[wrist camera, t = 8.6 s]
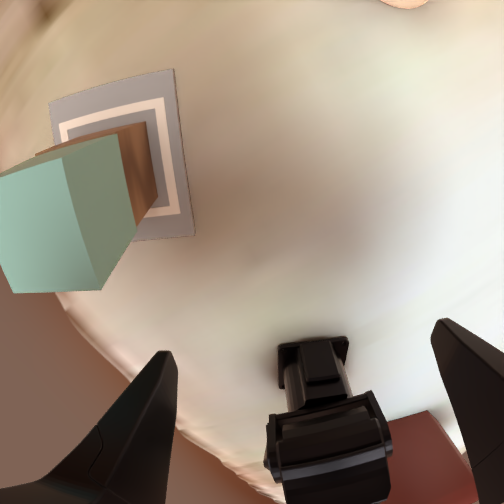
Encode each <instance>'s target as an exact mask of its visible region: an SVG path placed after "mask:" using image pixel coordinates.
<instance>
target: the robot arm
mask: <svg viewBox="0 0 504 504" xmlns="http://www.w3.org/2000/svg"><path fill="white" fill-rule="evenodd" d="M343 342H344V343H343ZM431 345H432V348H433V351H434V354H435V358H436V361H437V364H438V368H439V371H440V375H441V378H442V380H443V383H444V386H445V388H446V391H447V394H448V396H449V399H450V402H451V405H452V407H453V410H454V413H455V416H456V419H457V422H458V425H459V428H460V431H461V434H462V437H463V441H464V444H465V447H466V451H467V454H468V458H469V461H470V465H471V468H472V473H473V477H474V481H475V485H476V489H477V494H478V499H479V503H480V504H501V503H503V502H504V353H503V352H501V351H500V350H498V349H497V348H495V347H494V346H492V345H491V344H489V343H488V342H486V341H484V340H483V339H481V338H480V337H478V336H476V335H475V334H473V333H472V332H470V331H469V330H467V329H465V328H464V327H462V326H460V325H459V324H457V323H456V322H454V321H452V320H451V319H449V318H442V319H439V320H437V322H436V324H435V327H434V329H433V332H432V334H431ZM348 346H349V341H348V339H347V338H346V337H341V338H334V339H327V340H319V341H311V342H302V343H293V344H283V345H280V346H279V347H278V385H279V388H280V389H285V391H286V399H287V406H288V412H287V413H282V414H271V415H269V423H267V425H266V432H267V445H266V450H265V456H264V461H263V463H264V467H265V468H267V469H268V470H270V472H271V474H272V476H273V479H274V481H275V483H282V485H283V490H284V495H285V500H286V504H381V502H384V501H386V500H387V498H388V496H389V493H390V490H391V482H390V473H389V467H388V461H387V458H388V457H391V456H392V454H393V445H392V438H391V434H390V430H389V427H388V424H387V421H386V419H385V417H384V415H383V413H382V411H381V408H380V406H379V404H378V402H377V400H376V398H375V396H374V394H373V392H372V390H370V391H367V392H365V393H364V394H360V395H357V396H354V397H353V395H352V392H351V388H350V385H349V382H348V379H347V375H346V372H345V369H344V365H345V360H346V355H347V351H348ZM177 384H178V369H177V365H176V363H175V360H174V357H173V355H172V353H171V351H158V352H157V353H156V354H155V355H154V356H153V357H152V358H151V360H150V361H149V362H148V363H147V364H146V366H145V367H144V368H143V369H142V370H141V371H140V373H139V374H138V375H137V376H136V377H135V379H134V380H133V381H132V382H131V383H130V385H129V386H128V387H127V388H126V390H124V392H123V393H122V394H121V395H120V396H119V398H118V399H117V400H116V401H115V402H114V404H113V405H112V406H111V407H110V408H109V409H108V411H107V412H106V413H105V414H104V416H103V417H102V418H101V419H100V420H99V421H98V423H97V425H95V426H94V427H93V428H92V430H91V431H90V432H89V433H88V434H87V436H86V437H85V438H84V439H83V440H82V441H81V442H80V443H79V444H78V445H77V446H76V447H75V448H74V449H73V450H72V451H71V452H70V453H69V454H68V455H67V456H66V457H65V458H64V459H63V460H62V461H61V462H60V463H59V464H58V465H56V466H55V467H54V468H53V469H52V470H51V471H50V472H49V473H48V474H47V475H45V476H44V477H42V478H41V479H39V480H37V481H34V482H30V483H26V484H21V485H17V486H12V487H7V488H1V489H0V504H165V499H166V491H167V482H168V474H169V465H170V458H171V450H172V443H173V436H174V429H175V422H176V414H177Z"/></svg>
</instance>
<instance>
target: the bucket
mask: <svg viewBox="0 0 504 504" xmlns="http://www.w3.org/2000/svg"><path fill="white" fill-rule="evenodd" d="M387 424H388V427H389V430H390V434H391V438H392V445H393V454H392V456H391V457H388V458H387V461H388V467H389V473H390V482H391V490H390V493H389V496H388V498H387V500H386V501H384V502H381V504H472V503H474V502H476V501H478V500H479V499H478V494H477V489H476V485H475V481H474V477H473V473H472V470H471V468H470V467H469V465H468V464H467V462H466V461H465V459H464V458H463V456H462V455H461V453H460V452H459V450H458V449H457V447H456V446H455V445H454V443H453V442H452V440H451V439H450V437H449V436H448V435H447V433H446V432H445V430H444V429H443V428H442V426H441V425H440V423H439V422H438V420H437V419H436V418H435V417H433V416H432V415H431V414H430V413H429V412H428V411H427V410H426V411H423V412H420V413H417V414H413V415H410V416H407V417H403V418H400V419H396V420H392V421H389V422H387Z"/></svg>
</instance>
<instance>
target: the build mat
mask: <svg viewBox="0 0 504 504" xmlns="http://www.w3.org/2000/svg"><path fill="white" fill-rule="evenodd" d="M48 104H49V112H50V119H51V125H52V131H53V137H54V142H55V146H56V145H58V144H61V143H63V142H66V141H68V140H71V139H74V138H76V137H80V136H83V135H87V134H91V133H95V132H99V131H103V130H107V129H111V128H115V127H120V126H124V125H129V124H134V123H139V122H144V121H146V125H147V132H148V139H149V146H150V152H151V159H152V165H153V171H154V176H155V182H156V188H157V193H158V198H157V199H156V200H155V202H154V203H153V205H152V206H151V207H150V209H149V210H148V212H147V213H146V214H145V216H144V217H143V219H142V220H141V222H140V223H139V225H138V226H137V227H136V228H137V233H136V234H135V236H134V237H133V239H132V240H131V242H133V241H143V240H153V239H163V238H173V237H184V236H195V234H196V231H195V225H194V219H193V213H192V207H191V201H190V194H189V187H188V181H187V174H186V167H185V160H184V152H183V145H182V137H181V129H180V121H179V112H178V103H177V94H176V85H175V75H174V69H168V70H163V71H158V72H153V73H148V74H143V75H139V76H135V77H130V78H126V79H122V80H119V81H115V82H111V83H107V84H104V85H101V86H97V87H94V88H91V89H87V90H84V91H81V92H78V93H75V94H72V95H69V96H66V97H64V98H61V99H58V100H55V101H53V102H50V103H48Z"/></svg>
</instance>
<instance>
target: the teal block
mask: <svg viewBox="0 0 504 504" xmlns="http://www.w3.org/2000/svg"><path fill="white" fill-rule="evenodd" d="M136 233H137V228H136V224H135V219H134V215H133V211H132V207H131V202H130V198H129V193H128V189H127V184H126V179H125V174H124V169H123V164H122V158H121V153H120V147H119V141H118V135H117V134H113V135H108V136H104V137H100V138H96V139H92V140H88V141H85V142H81V143H77V144H74V145H70V146H67V147H63V148H60V149H57V150H53V151H50V152H47V153H44V154H41V155H38V156H35V157H33V158H31V159H29V160H27V161H24V162H22V163H20V164H18V165H16V166H14V167H12V168H10V169H8V170H6V171H4V172H2V173H0V264H1V267H2V269H3V271H4V273H5V275H6V278H7V280H8V282H9V284H10V286H11V288H12V291H13V292H14V293H36V292H37V293H39V292H67V291H90V290H101V289H102V288H103V286H104V284H105V283H106V281H107V279H108V277H109V276H110V274H111V272H112V271H113V269H114V267H115V266H116V264H117V263H118V261H119V259H120V258H121V256H122V254H123V253H124V251H125V250H126V248H127V247H128V245H129V243H130V242H131V240H132V239H133V237H134V236H135V234H136Z"/></svg>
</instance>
